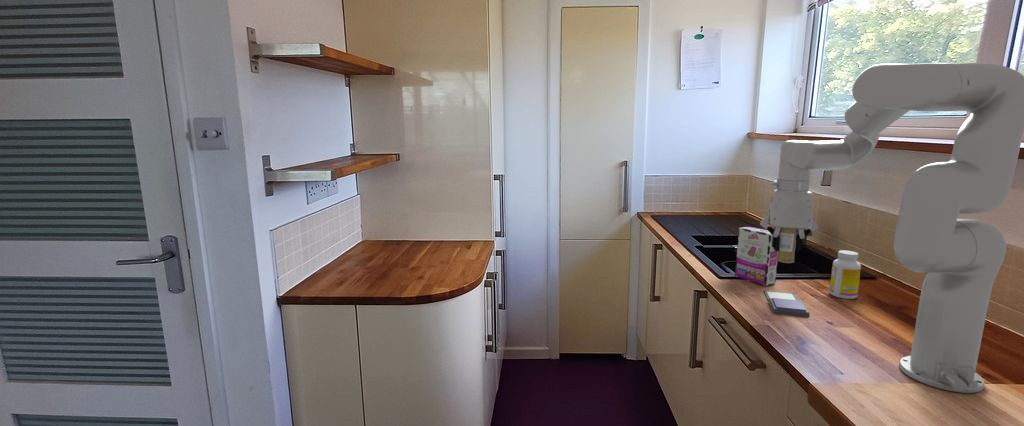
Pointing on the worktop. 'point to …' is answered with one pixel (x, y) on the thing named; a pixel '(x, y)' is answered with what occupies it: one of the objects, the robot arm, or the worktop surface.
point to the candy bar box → (756, 256)
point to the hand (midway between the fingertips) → (786, 250)
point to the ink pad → (788, 307)
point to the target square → (779, 295)
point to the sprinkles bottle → (787, 245)
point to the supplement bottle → (845, 275)
